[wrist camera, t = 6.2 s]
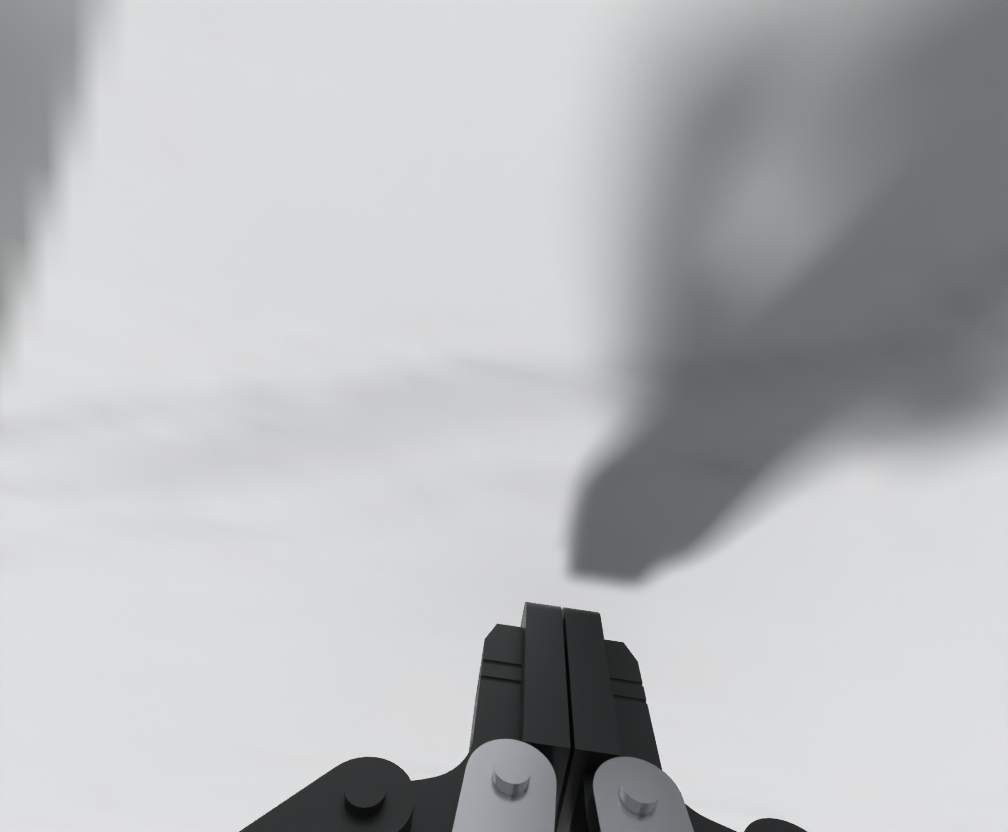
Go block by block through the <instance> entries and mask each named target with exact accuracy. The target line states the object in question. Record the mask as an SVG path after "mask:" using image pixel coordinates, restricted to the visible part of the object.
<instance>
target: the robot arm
mask: <svg viewBox="0 0 1008 832" xmlns="http://www.w3.org/2000/svg"><path fill="white" fill-rule="evenodd" d="M240 832H736V831H734V830H732V829H730V828H727V827H725V826H723V825H721V824H718V823H716V822H714V821H711V820H709V819H707V818H705V817H703V816H701V815H700V814H698V813H697V812H695V811H694V810H692V809H691V808H690V807H688V806H687V805H686V804H685V803H684V800H683V797H682V795H681V792H680V791H679V789H678V787H677V786H676V784H675V783H674V782H673V780H672V779H671V778H670V777H669V776H668V775H667V774H666V773H665V772H663V771H662V768H661V763H660V759H659V754H658V750H657V745H656V741H655V737H654V732H653V728H652V723H651V719H650V714H649V710H648V705H647V704H646V697H645V692H644V688H643V686H642V679H641V674H640V670H639V665H638V661H637V660H636V659H635V657H634V656H633V655H632V653H631V652H630V651H629V649H628V648H627V647H626V645H625V644H624V643H623V642H617V641H611V640H604V636H603V629H602V623H601V617H600V614H599V613H598V612H591V611H584V610H578V609H571V608H564V607H563V609H561V607H556V606H550V605H543V604H536V603H529V602H526V603H525V606H524V611H523V616H522V622H521V627H515V626H509V625H502V624H497V625H496V626H495V627H494V628H493V630H492V631H491V632H490V633H489V635H488V636H487V637H486V638H485V641H484V648H483V654H482V661H481V667H480V674H479V680H478V686H477V693H476V699H475V707H474V715H473V724H472V731H471V739H470V747H469V753H468V755H467V756H466V758H465V759H464V760H463V761H462V762H461V764H460V765H458V766H457V767H456V768H454V769H453V770H451V771H449V772H448V773H446V774H443V775H440V776H437V777H433V778H428V779H422V780H415V781H411V780H410V778H409V777H408V775H407V774H406V773H405V772H404V770H403V769H401V768H400V767H399V766H398V765H396V764H394V763H392V762H391V761H388V760H385V759H382V758H377V757H361V758H356V759H352V760H349V761H346V762H344V763H342V764H340V765H338V766H337V767H335V768H333V769H332V770H330V771H329V772H328V773H326V774H325V775H323V776H322V777H320V778H319V779H317V780H316V781H314V782H313V783H311V784H310V785H308V786H307V787H305V788H304V789H302V790H301V791H299V792H298V793H296V794H295V795H293V796H292V797H290V798H289V799H287V800H286V801H284V802H283V803H281V804H280V805H278V806H277V807H275V808H274V809H272V810H271V811H269V812H268V813H266V814H265V815H263V816H262V817H260V818H259V819H257V820H256V821H254V822H253V823H251V824H250V825H248V826H247V827H245V828H244V829H243V830H241V831H240ZM744 832H807V831H805V830H804V829H802V828H800V827H798V826H796V825H794V824H792V823H789V822H787V821H783V820H779V819H773V818H764V819H759V820H756V821H754V822H752V823H751V824H750V825H749V826H748V827H747V828H746V830H745V831H744Z"/></svg>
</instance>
